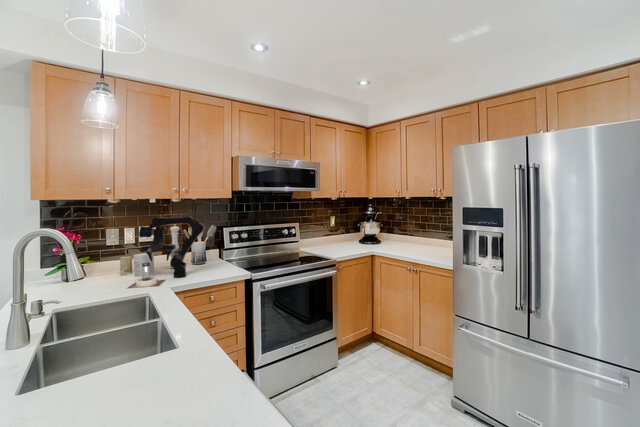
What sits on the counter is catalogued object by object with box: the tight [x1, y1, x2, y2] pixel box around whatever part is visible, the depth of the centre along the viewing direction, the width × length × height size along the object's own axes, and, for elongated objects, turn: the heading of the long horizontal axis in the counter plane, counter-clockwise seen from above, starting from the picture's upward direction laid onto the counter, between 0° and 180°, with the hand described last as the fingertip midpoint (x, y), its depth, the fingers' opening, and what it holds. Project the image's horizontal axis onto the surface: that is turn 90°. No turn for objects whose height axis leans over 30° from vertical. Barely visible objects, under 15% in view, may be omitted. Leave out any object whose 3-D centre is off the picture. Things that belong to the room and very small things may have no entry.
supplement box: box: [132, 252, 155, 278], centre depth 197 cm, size 9×9×15 cm
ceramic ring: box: [134, 276, 159, 288], centre depth 174 cm, size 11×11×3 cm
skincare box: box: [119, 256, 133, 276], centre depth 202 cm, size 6×4×12 cm
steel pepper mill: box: [141, 263, 152, 281], centre depth 174 cm, size 5×5×12 cm
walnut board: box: [126, 279, 167, 289], centre depth 174 cm, size 17×15×1 cm
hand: (159, 261), depth 186 cm, fingers open, 9 cm apart
